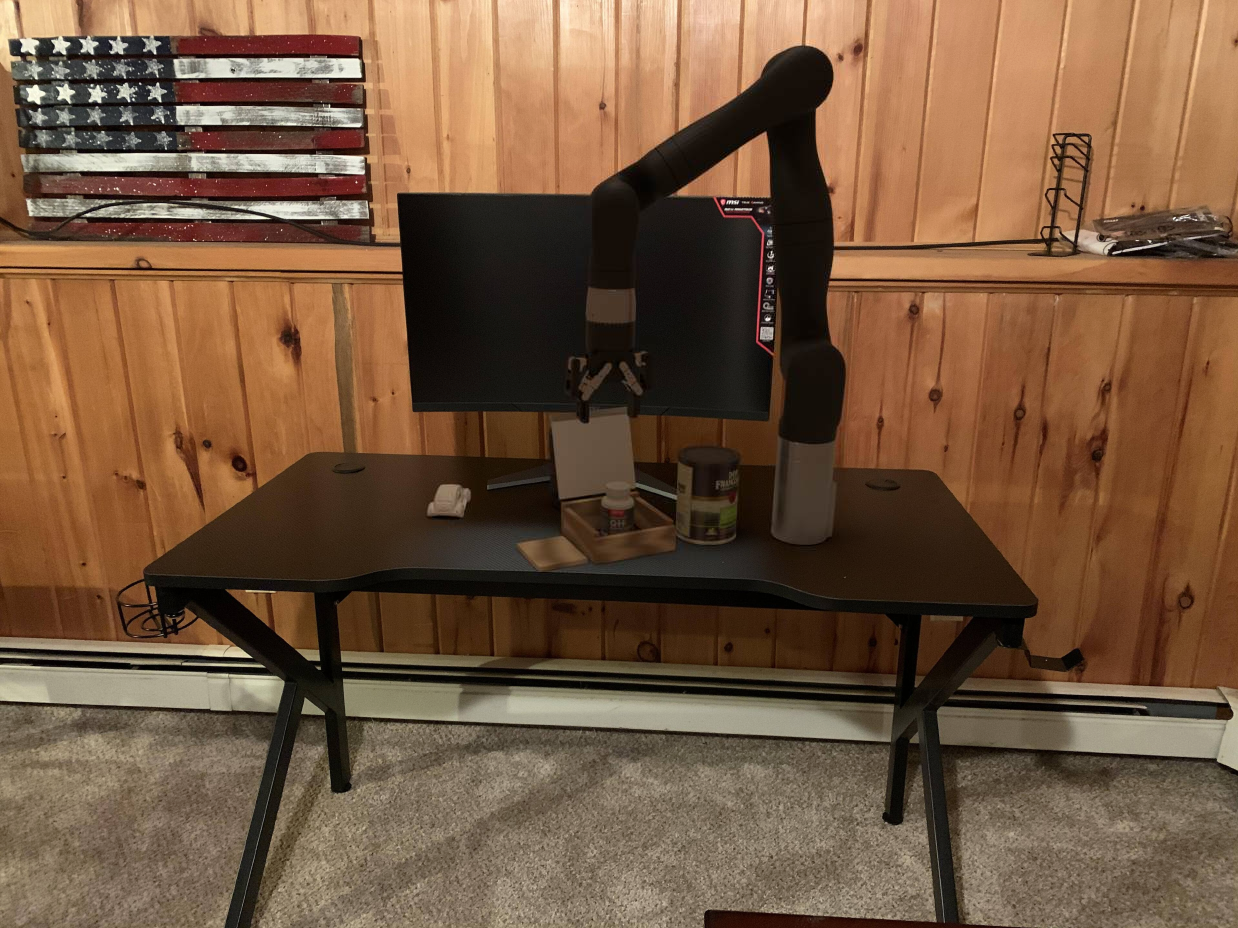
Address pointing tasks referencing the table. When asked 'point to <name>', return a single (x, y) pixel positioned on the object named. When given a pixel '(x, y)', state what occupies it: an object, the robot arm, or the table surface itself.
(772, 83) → the robot arm
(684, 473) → the coffee can
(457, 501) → the car
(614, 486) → the pill bottle
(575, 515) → the open wooden box
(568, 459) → the lid
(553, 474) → the black upright cylinder
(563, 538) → the flat wooden board
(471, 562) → the table surface
